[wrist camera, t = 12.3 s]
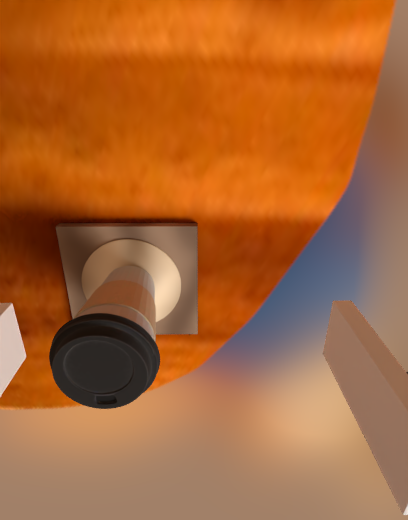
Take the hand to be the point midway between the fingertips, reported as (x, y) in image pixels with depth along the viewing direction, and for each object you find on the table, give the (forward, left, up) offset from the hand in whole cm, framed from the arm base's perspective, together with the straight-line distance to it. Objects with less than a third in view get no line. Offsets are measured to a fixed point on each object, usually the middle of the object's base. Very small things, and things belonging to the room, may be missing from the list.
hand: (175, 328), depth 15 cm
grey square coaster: (-7, -12, -27) cm, 30 cm away
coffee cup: (-7, -12, -25) cm, 29 cm away
